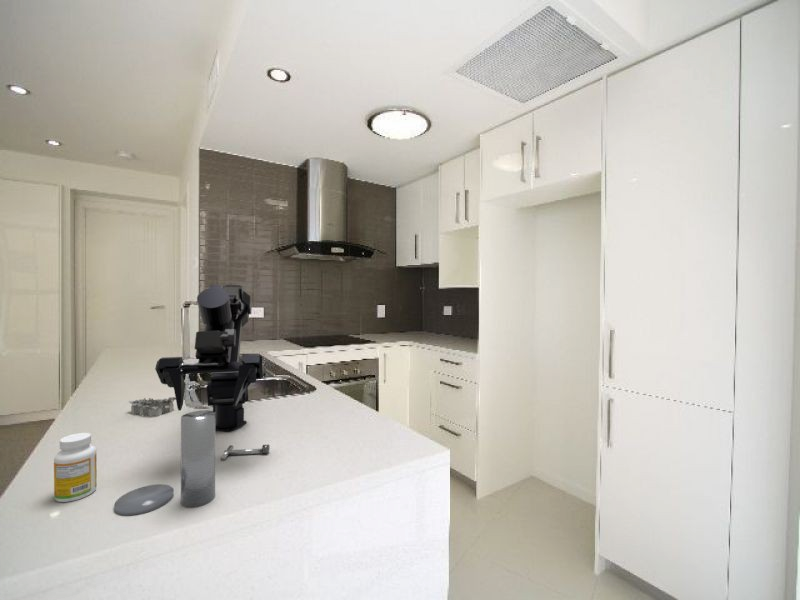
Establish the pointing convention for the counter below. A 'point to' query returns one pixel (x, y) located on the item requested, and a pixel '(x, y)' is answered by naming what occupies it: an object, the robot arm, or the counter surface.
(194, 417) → the grey cylindrical piece
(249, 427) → the counter surface
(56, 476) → the supplement bottle
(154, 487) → the coaster
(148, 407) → the egg carton
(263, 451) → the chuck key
